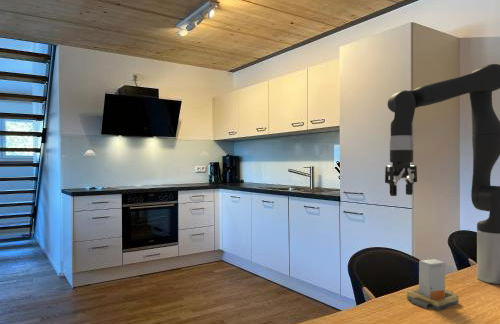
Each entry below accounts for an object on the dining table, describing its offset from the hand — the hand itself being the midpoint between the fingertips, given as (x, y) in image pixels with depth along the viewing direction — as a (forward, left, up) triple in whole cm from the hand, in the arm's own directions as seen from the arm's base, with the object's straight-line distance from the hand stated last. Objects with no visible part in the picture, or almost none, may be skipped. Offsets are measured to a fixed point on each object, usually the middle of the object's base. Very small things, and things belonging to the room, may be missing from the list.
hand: (401, 195), depth 127 cm
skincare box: (+8, +16, -30) cm, 35 cm away
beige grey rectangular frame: (+8, +16, -30) cm, 35 cm away
